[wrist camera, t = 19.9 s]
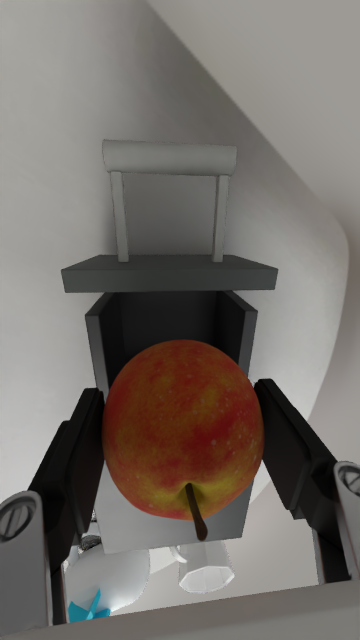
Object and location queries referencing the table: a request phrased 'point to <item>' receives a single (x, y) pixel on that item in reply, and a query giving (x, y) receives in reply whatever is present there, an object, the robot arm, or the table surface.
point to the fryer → (158, 522)
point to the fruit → (182, 431)
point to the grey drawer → (167, 272)
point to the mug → (103, 579)
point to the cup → (203, 566)
